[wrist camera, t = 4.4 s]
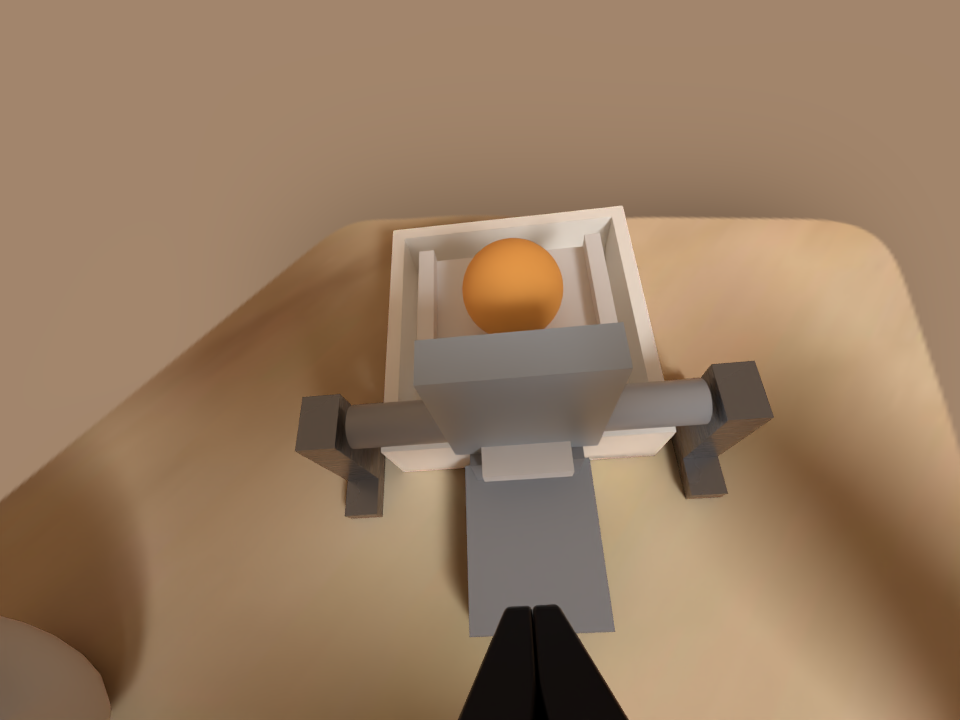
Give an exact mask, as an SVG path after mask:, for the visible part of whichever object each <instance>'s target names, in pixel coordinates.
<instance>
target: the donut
mask: <svg viewBox="0 0 960 720" xmlns="http://www.w3.org/2000/svg"><path fill="white" fill-rule="evenodd" d="M110 715H111V705H110V702H109V698H108V695H107V692H106V689H105V686H104V683H103V680H102V677H101V674H100V673H99V672H98V671H97V670H96V669H95V668H94V666H93V665H92V664H91V663H90V662H89V661H88V660H87V658H86V657H85V656H84V655H83V654H81V653H80V652H79V651H77V650H76V649H74V648H73V647H71V646H70V645H68V644H67V643H65V642H64V641H62V640H61V639H59V638H58V637H56V636H55V635H53V634H50V633H48V632H46V631H43V630H41V629H39V628H36V627H34V626H32V625H29V624H27V623H25V622H21V621H18V620H14V619H10V618H7V617H3V616H0V720H110Z"/></svg>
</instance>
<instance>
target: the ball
mask: <svg viewBox="0 0 960 720" xmlns="http://www.w3.org/2000/svg"><path fill="white" fill-rule="evenodd" d="M462 293H463V300H464V304H465V307H466V310H467V312H468V314H469V315H470V317H471V319H472V320H473V321H474V322H475V324H476V325H477V326H478V327H480V328H481V329H482V330H483V331H485V332H486V333H488V334H494V333H505V332H516V331H528V330H539V329H544V328H545V327H546V326H548V325H549V324H550V322H551V321H552V320H553V319H554V317H555V316H556V314H557V312H558V310H559V308H560V305H561V302H562V298H563V279H562V275H561V271H560V269H559V267H558V265H557V263H556V261H555V260H554V258H553V257H552V256H551V255H550V254H549V252H547V251H546V250H545V249H544V248H543V247H541V246H540V245H538V244H536V243H534V242H532V241H529V240H526V239H521V238H507V239H501V240H498V241H495V242H492V243H490V244H488V245H487V246H485V247H484V248H483V249H481V250H480V251H479V252H478V253H477V254H476V255H475V256H474V257H473V259H472V260H471V262H470V263H469V265H468V267H467V269H466V272H465V275H464V279H463V287H462Z"/></svg>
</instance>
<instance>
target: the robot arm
mask: <svg viewBox="0 0 960 720" xmlns="http://www.w3.org/2000/svg"><path fill="white" fill-rule="evenodd" d="M458 720H629V719H628V718H627V716H626V714H625V713H624V711H623V710H622V708H621V706H620V705H619V703H618V701H617V700H616V698H615V696H614V695H613V693H612V691H611V690H610V688H609V687H608V685H607V683H606V682H605V680H604V678H603V677H602V675H601V673H600V672H599V670H598V668H597V667H596V665H595V664H594V662H593V660H592V659H591V657H590V655H589V654H588V652H587V650H586V649H585V647H584V645H583V644H582V642H581V641H580V639H579V637H578V636H577V634H576V632H575V631H574V629H573V627H572V626H571V624H570V622H569V621H568V619H567V618H566V616H565V614H564V613H563V611H562V609H561V608H560V607H559V606H558V605H556V604H547V605H535V606H534V607H533V614H532V609H531V607H529V606H510V607H507V608H506V609H505V610H504V612H503V614H502V617H501V619H500V621H499V624H498V626H497V628H496V631H495V633H494V636H493V638H492V640H491V643H490V645H489V647H488V650H487V652H486V654H485V657H484V659H483V662H482V664H481V666H480V669H479V671H478V673H477V676H476V678H475V680H474V683H473V685H472V688H471V690H470V692H469V695H468V697H467V699H466V702H465V704H464V706H463V709H462V711H461V714H460V716H459V718H458Z"/></svg>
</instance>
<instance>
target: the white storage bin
mask: <svg viewBox="0 0 960 720" xmlns="http://www.w3.org/2000/svg"><path fill="white" fill-rule="evenodd" d="M595 233H600V237H601V242H602V247H603V251H604V256H605V261H606V266H607V271H608V276H609V281H610V286H611V291H612V296H613V301H614V306H615V311H616V316H617V321H618V322H624V327H625V332H626V337H627V341H628V346H629V351H630V356H631V361H632V365H633V369H632V372H631V374H630V376H629V378H628V380H627V383H626V384H628V383H641V382H654V381H664V377H663V373H662V369H661V365H660V360H659V356H658V352H657V348H656V344H655V339H654V335H653V331H652V327H651V323H650V319H649V314H648V310H647V306H646V302H645V298H644V293H643V289H642V285H641V281H640V277H639V272H638V268H637V264H636V260H635V256H634V251H633V247H632V243H631V239H630V235H629V231H628V226H627V222H626V218H625V214H624V210H623V206H616V207H606V208H597V209H589V210H579V211H570V212H560V213H551V214H541V215H533V216H523V217H514V218H504V219H495V220H486V221H476V222H467V223H458V224H449V225H439V226H430V227H421V228H411V229H402V230H393V245H392V263H391V281H390V299H389V317H388V335H387V353H386V371H385V389H384V403H385V402H398V401H411V400H422V399H421V397H420V396H419V394H418V393H417V391H416V389H415V388H414V386H413V382H414V342H415V340H417V333H418V288H419V252H421V251H431V250H434V252H435V255H436V259H437V261H443V260H453V259H463V258H473V257H474V256H475V255H476V254H477V253H478V252H479V251H480V250H481V249H483V248H484V247H485V246H487V245H488V244H490V243H492V242H495V241H498V240H501V239H507V238H521V239H526V240H529V241H532V242H534V243H536V244H538V245H540V246H541V247H543V248H544V249H545V250H551V249H561V248H571V247H581V246H583V240H584V235H585V234H595ZM675 433H676V427H675V426H674V427H660V428H646V429H632V430H618V431H604V433H603V435H602V437H601V440H600V442H599V444H598V445H597V446H583V450H584V457H585V458H589V459H590V460H594V459H610V458H625V457H640V456H655V454H656V453H657V452H658V451H659V450H660V449H661V448H662V447H663V446H664V445H665V444H666V443H667V442H668V440H669V439H670V438H671V437H672V436H673V435H674V434H675ZM381 453H382V454H383V455H385V456H386V457H387V458H388V459H389V460H390V461H392V462H393V463H394V464H395V465H396V466H397V467H399V468H400V469H401V470H402V471H403V472H412V471H427V470H443V469H458V468H465V466H469V465H470V454H465V455H455V453H454V451H453V450H452V448H451V447H450V445H449V443H448V442H447V443H433V444H419V445H405V446H391V447H381Z"/></svg>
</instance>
